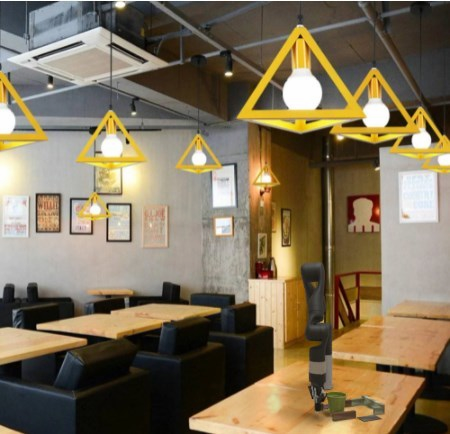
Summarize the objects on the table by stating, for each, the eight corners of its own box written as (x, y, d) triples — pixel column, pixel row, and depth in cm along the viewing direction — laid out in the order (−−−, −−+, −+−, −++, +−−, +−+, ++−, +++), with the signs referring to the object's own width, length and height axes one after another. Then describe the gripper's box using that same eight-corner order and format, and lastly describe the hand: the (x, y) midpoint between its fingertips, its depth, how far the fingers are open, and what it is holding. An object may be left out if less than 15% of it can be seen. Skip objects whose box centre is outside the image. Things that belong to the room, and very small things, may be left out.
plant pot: (321, 412, 233) (321, 392, 233) (339, 409, 236) (339, 390, 237) (333, 418, 224) (332, 398, 224) (351, 416, 228) (351, 396, 228)
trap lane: (310, 406, 240) (310, 398, 240) (357, 400, 249) (357, 391, 249) (340, 425, 216) (340, 415, 217) (392, 417, 226) (392, 408, 226)
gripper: (302, 368, 232) (302, 407, 232) (317, 375, 220) (318, 417, 220) (316, 366, 235) (317, 405, 235) (332, 373, 223) (333, 414, 222)
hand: (317, 410), depth 227 cm, fingers closed
